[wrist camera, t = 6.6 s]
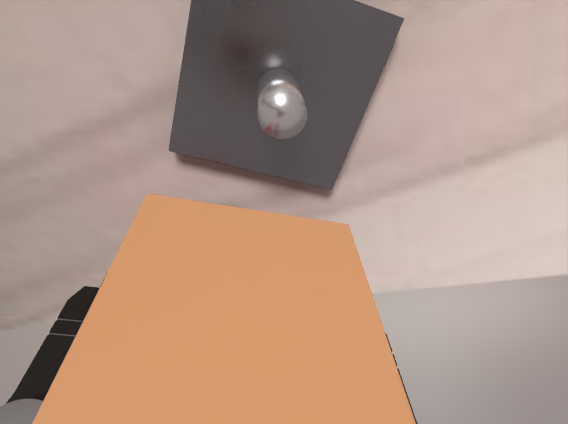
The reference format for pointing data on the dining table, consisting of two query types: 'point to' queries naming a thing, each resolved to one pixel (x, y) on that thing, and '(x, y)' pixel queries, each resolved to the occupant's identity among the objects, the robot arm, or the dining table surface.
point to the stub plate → (293, 43)
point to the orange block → (230, 327)
